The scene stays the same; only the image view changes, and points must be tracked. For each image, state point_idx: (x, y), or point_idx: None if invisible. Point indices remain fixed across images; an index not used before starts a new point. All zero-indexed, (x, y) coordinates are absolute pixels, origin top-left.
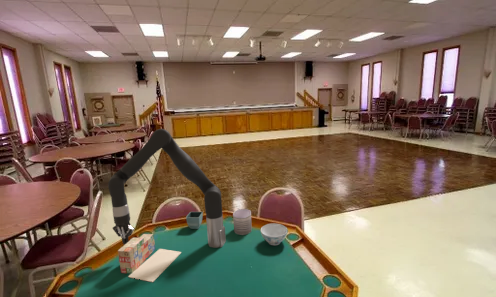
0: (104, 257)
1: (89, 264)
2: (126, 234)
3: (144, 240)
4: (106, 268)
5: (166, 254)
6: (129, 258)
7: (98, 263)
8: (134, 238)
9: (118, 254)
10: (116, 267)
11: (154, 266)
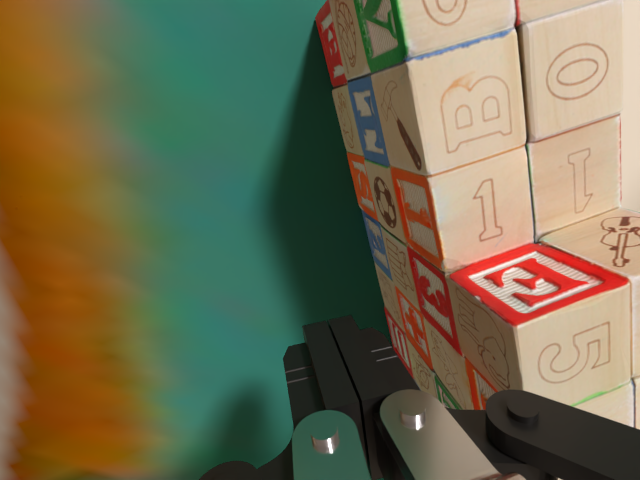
0: (20, 349)
1: (17, 469)
2: (410, 459)
3: (578, 144)
4: (238, 419)
5: (625, 40)
6: None
7: (84, 423)
8: (574, 340)
9: None
10: None
11: None
